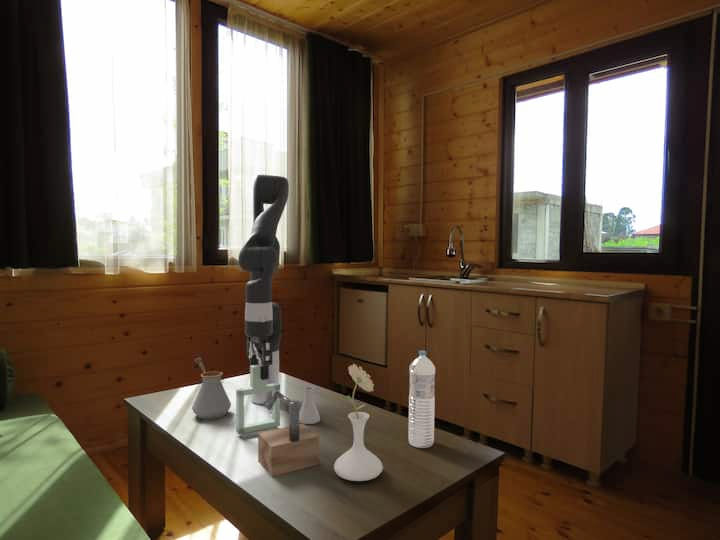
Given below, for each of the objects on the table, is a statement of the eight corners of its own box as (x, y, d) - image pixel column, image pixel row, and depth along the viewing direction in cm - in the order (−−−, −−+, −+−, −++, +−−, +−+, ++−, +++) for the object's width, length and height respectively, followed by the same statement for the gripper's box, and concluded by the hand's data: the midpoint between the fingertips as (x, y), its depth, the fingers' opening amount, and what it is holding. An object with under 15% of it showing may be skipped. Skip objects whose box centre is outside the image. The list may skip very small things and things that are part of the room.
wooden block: (258, 461, 114) (258, 432, 114) (303, 450, 121) (303, 423, 120) (271, 476, 107) (271, 446, 106) (318, 464, 113) (318, 436, 112)
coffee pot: (236, 417, 143) (236, 368, 142) (197, 424, 137) (197, 374, 136) (215, 397, 161) (215, 354, 160) (180, 403, 154) (179, 359, 154)
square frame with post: (234, 433, 131) (234, 366, 130) (275, 425, 137) (275, 361, 136) (240, 439, 127) (240, 370, 126) (281, 431, 133) (282, 365, 132)
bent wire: (260, 414, 126) (260, 381, 126) (269, 412, 128) (269, 380, 127) (291, 442, 109) (291, 404, 108) (301, 440, 110) (301, 402, 109)
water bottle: (418, 436, 130) (420, 347, 129) (439, 443, 125) (440, 351, 124) (403, 443, 125) (404, 351, 124) (423, 451, 121) (425, 355, 119)
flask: (316, 426, 137) (316, 392, 136) (293, 424, 138) (293, 390, 138) (323, 417, 144) (323, 385, 143) (301, 415, 145) (301, 383, 145)
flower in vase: (389, 482, 105) (391, 372, 103) (340, 489, 101) (341, 376, 100) (371, 457, 117) (372, 358, 116) (327, 462, 114) (327, 361, 112)
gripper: (237, 316, 134) (238, 371, 135) (254, 322, 122) (254, 384, 123) (262, 314, 138) (263, 368, 139) (281, 320, 126) (281, 380, 127)
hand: (259, 375), depth 131 cm, fingers open, 8 cm apart
